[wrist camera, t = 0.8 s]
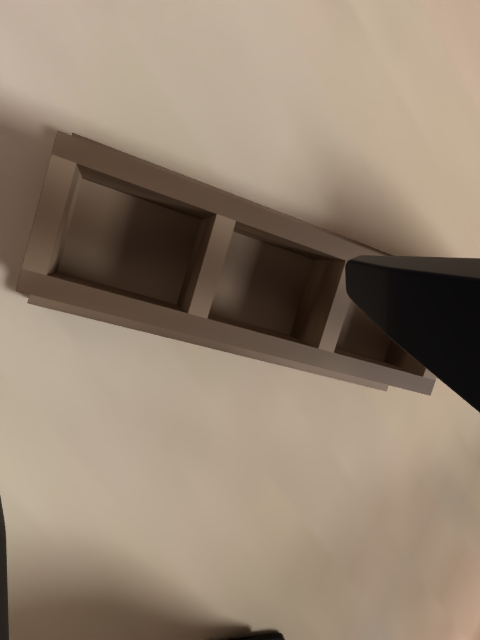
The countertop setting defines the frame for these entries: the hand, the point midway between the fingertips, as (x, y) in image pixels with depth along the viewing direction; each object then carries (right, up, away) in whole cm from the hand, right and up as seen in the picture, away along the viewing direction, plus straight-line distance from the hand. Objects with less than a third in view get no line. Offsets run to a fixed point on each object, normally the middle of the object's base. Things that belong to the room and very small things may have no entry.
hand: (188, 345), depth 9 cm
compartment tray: (+2, +3, +17) cm, 17 cm away
